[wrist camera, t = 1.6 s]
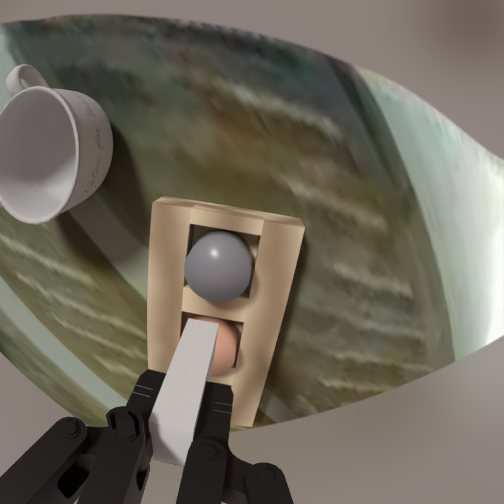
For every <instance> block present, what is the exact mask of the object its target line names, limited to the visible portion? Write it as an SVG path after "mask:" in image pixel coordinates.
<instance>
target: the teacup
mask: <svg viewBox="0 0 504 504" xmlns="http://www.w3.org/2000/svg"><path fill="white" fill-rule="evenodd" d="M20 78H21V79H24V80H25V81H26V82H27V83H28V84H29V85H30V86H31V87H30V88H27V89H26V88H25V87H24V86H23V85H22V83H21V79H20ZM6 87H7V91H8V93H9V95H10V96H11V99H10V101H8V103H7V104H6V105H5V106H4V108H3V109H2V111H1V113H0V202H1V203H2V205H3V206H4V208H5V209H6V210H7V211H8V212H9V213H10V214H11V215H12V216H13V217H15V218H16V219H18V220H19V221H21V222H24V223H28V224H41V223H45V222H48V221H50V220H52V219H54V218H55V217H56V216H58V215H59V214H60V213H63V212H65V211H67V210H68V209H70V208H72V207H74V206H76V205H78V204H79V203H81V202H83V201H84V200H86V199H87V198H88V197H90V196H91V195H92V194H93V193H94V192H95V191H96V190H97V189H98V187H99V186H100V185H101V183H102V182H103V180H104V178H105V177H106V174H107V172H108V170H109V167H110V164H111V160H112V154H113V135H112V130H111V126H110V123H109V120H108V118H107V116H106V114H105V112H104V111H103V109H102V108H101V107H100V105H99V104H98V103H97V102H96V101H94V100H93V99H92V98H90V97H88V96H86V95H84V94H82V93H79V92H75V91H70V90H62V89H51V88H49V86H48V84H47V83H46V81H45V80H44V78H43V77H42V75H41V74H40V73H39V72H38V71H37V70H36V69H35V68H34V67H32V66H31V65H28V64H22V65H19V66H17V67H16V68H14V69H13V70H12V71H11V73H10V74H9V76H8V78H7V81H6Z"/></svg>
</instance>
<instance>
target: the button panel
mask: <svg viewBox="0 0 504 504" xmlns="http://www.w3.org/2000/svg"><path fill="white" fill-rule="evenodd" d="M215 229H226V230H230V231H233V232H235V233H237V234H238V235H240V236H241V237H242V238H243V239H244V240H245V241H246V242H247V244H248V245H249V248H250V250H251V255H252V264H251V276H250V281H249V284H248V286H247V288H246V289H245V291H244V292H243V293H242V294H241V295H240V296H238V297H237V298H235V299H233V300H230V301H227V302H212V301H208V300H205V299H203V298H201V297H200V296H198V295H197V294H196V293H194V292H193V291H192V289H191V288H190V287H189V285H188V283H187V281H186V279H185V275H184V265H185V261H186V258H187V256H188V254H189V253H190V251H191V249H192V248H193V246H194V245H195V243H196V241H197V240H198V239H199V238H200V237H201V236H202V235H203V234H205V233H206V232H209V231H211V230H215ZM304 230H305V227H304V225H303V223H302V221H301V219H300V218H294V217H289V216H284V215H278V214H273V213H267V212H262V211H256V210H250V209H244V208H238V207H233V206H226V205H220V204H214V203H208V202H202V201H195V200H189V199H182V198H175V197H169V196H163V197H161V198H159V199H158V200H156V201H154V202H153V203H152V215H151V228H150V244H149V264H148V300H147V334H148V369H151V370H155V371H159V372H163V373H167V371H168V369H169V366H170V363H171V361H172V358H173V356H174V353H175V351H176V348H177V346H178V343H179V341H180V338H181V336H182V333H183V331H184V328H185V326H186V323H187V321H188V319H189V318H191V319H192V318H193V317H195V316H197V315H205V316H211V317H216V318H222V319H227V320H229V321H230V322H231V323H232V324H233V326H234V327H235V329H236V332H237V345H236V354H235V361H234V364H233V366H232V367H231V368H230V369H229V370H228V371H227V372H225V373H223V374H220V375H215V376H211V377H210V382H216V383H222V384H225V385H230V387H231V389H232V392H233V394H234V398H233V405H232V413H231V422H230V424H233V425H240V426H248V427H252V425H253V421H254V418H255V415H256V412H257V408H258V405H259V402H260V398H261V395H262V391H263V388H264V385H265V381H266V378H267V374H268V371H269V367H270V364H271V360H272V356H273V353H274V349H275V346H276V342H277V338H278V334H279V331H280V327H281V323H282V319H283V316H284V312H285V308H286V304H287V300H288V296H289V292H290V288H291V284H292V280H293V276H294V272H295V268H296V264H297V260H298V255H299V251H300V247H301V243H302V238H303V234H304Z"/></svg>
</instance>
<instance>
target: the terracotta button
mask: <svg viewBox="0 0 504 504" xmlns="http://www.w3.org/2000/svg"><path fill="white" fill-rule="evenodd" d="M192 319H196V320H201V321H206V322H211V323H217V324H219V327H218V334H217V341H216V348H215V355H214V363H213V368H212V373H211V376H215V375H220V374H223V373H225V372H227V371H228V370H229V369H230V368H231V367H232V366H233V364H234V361H235V354H236V345H237V332H236V329H235V327H234V326H233V324H232V323H231V322H230V321H229V320H227V319H222V318H216V317H211V316H205V315H197V316H195V317H193V318H192Z"/></svg>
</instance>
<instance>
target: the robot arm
mask: <svg viewBox="0 0 504 504" xmlns="http://www.w3.org/2000/svg"><path fill="white" fill-rule="evenodd" d="M218 327H219V324H217V323H211V322H206V321H201V320H196V319H191V318H189V319H188V321H187V323H186V326H185V328H184V331H183V333H182V336H181V338H180V341H179V343H178V346H177V348H176V351H175V353H174V356H173V358H172V361H171V363H170V366H169V369H168V371H167V373H163V372H159V371H155V370H151V369H148V370H147V371H145V372H144V373H143V374H141V375H140V377H139V379H138V381H137V383H136V386H135V387H134V390H133V393H132V394H131V396H130V398H129V400H128V402H127V405H126V407H124V406H121V407H115V408H113V409H111V410H110V411H109V412H108V413H107V414H106V417H107V421H108V425H109V426H108V427H89V426H86V425H85V424H84V423H83V422H82V421H81V420H80V419H77V418H75V417H65V418H62V419H60V420H59V421H57V422H56V423H55V424H54V425H53V426H52V427H51V428H50V429H49V430H48V431H47V432H46V433H45V434H44V435H43V436H42V437H41V438H40V439H39V440H38V441H37V442H36V443H35V444H34V445H32V447H30V448H29V450H27V451H26V452H25V453H24V454H23V455H22V456H21V457H20V458H19V459H18V460H17V461H16V462H15V463H14V464H13V465H12V466H11V467H10V468H9V469H8V470H7V471H6V472H5V473H4V474H3V475H2V476H1V477H0V504H74V502H75V501H76V500H77V499H78V497H79V496H80V497H79V499H78V502H77V504H140V503H141V499H142V496H143V493H144V489H145V486H146V482H147V479H148V476H149V472H150V464H149V463H150V460H151V457H152V455H153V460H157V461H161V462H165V463H170V464H173V465H178V466H183V467H184V470H183V474H182V479H181V483H180V488H179V492H178V496H177V501H176V504H221V501H222V502H224V503H227V504H294V503H293V500H292V497H291V494H290V491H289V488H288V485H287V482H286V479H285V476H284V474H283V472H282V471H281V469H279V468H278V467H277V466H276V465H273V464H270V463H257V464H254V465H252V464H250V463H247V462H245V461H242V460H240V459H239V458H237V457H236V456H234V455H233V454H232V452H231V451H230V449H229V446H228V438H229V430H230V422H231V413H232V405H233V398H234V394H233V392H232V389H231V387H230V385H225V384H219V383H213V382H210V377H211V373H212V368H213V363H214V355H215V348H216V341H217V334H218Z"/></svg>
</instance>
